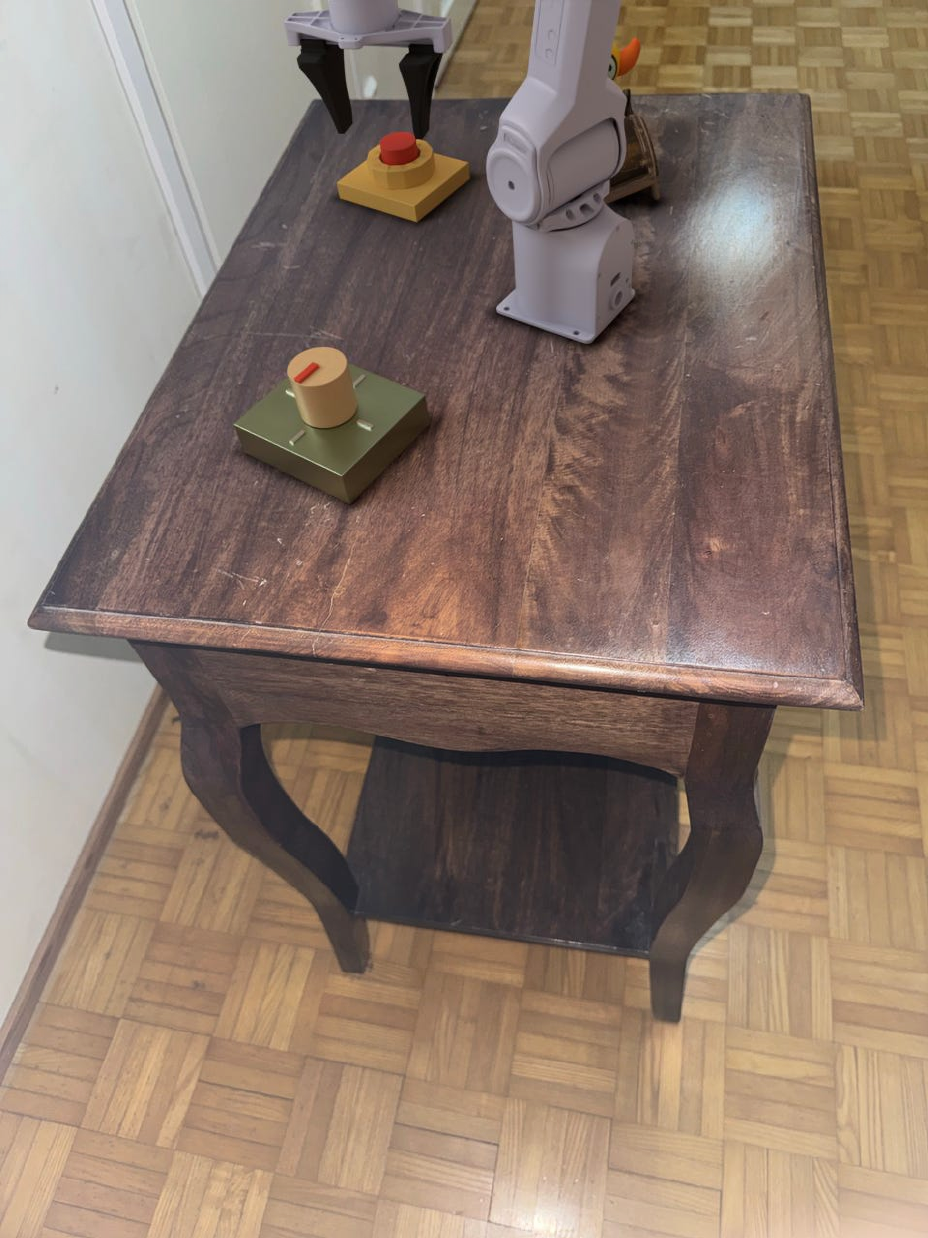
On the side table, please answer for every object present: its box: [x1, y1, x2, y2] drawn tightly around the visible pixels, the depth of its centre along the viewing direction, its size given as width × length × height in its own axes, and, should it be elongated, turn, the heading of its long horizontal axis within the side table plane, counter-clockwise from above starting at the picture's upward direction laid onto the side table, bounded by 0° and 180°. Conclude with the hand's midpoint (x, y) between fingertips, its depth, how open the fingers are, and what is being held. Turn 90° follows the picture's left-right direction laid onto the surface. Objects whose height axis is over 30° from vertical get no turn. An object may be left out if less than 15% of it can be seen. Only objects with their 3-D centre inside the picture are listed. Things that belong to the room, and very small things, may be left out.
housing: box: [336, 139, 471, 223], centre depth 91 cm, size 10×9×4 cm
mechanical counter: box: [603, 113, 661, 205], centre depth 85 cm, size 7×13×10 cm
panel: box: [233, 362, 431, 505], centre depth 70 cm, size 11×10×3 cm
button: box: [379, 131, 418, 166], centre depth 89 cm, size 4×4×2 cm
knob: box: [286, 346, 357, 428], centre depth 67 cm, size 4×4×4 cm
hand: (383, 131), depth 83 cm, fingers open, 7 cm apart
